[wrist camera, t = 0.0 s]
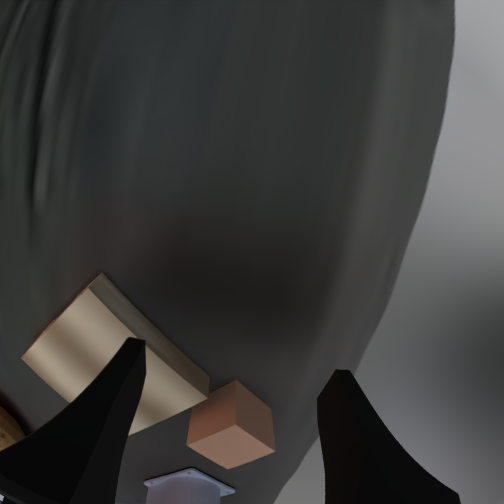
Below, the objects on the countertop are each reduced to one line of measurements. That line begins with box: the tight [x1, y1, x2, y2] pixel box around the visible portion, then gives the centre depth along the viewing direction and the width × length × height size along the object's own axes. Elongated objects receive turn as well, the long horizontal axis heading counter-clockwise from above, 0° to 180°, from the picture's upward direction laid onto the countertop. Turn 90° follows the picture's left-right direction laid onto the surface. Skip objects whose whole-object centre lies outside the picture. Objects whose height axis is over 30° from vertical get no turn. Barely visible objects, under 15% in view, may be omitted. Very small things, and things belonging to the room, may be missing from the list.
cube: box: [187, 380, 276, 469], centre depth 24 cm, size 5×5×5 cm
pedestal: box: [22, 272, 210, 436], centre depth 23 cm, size 12×12×3 cm
